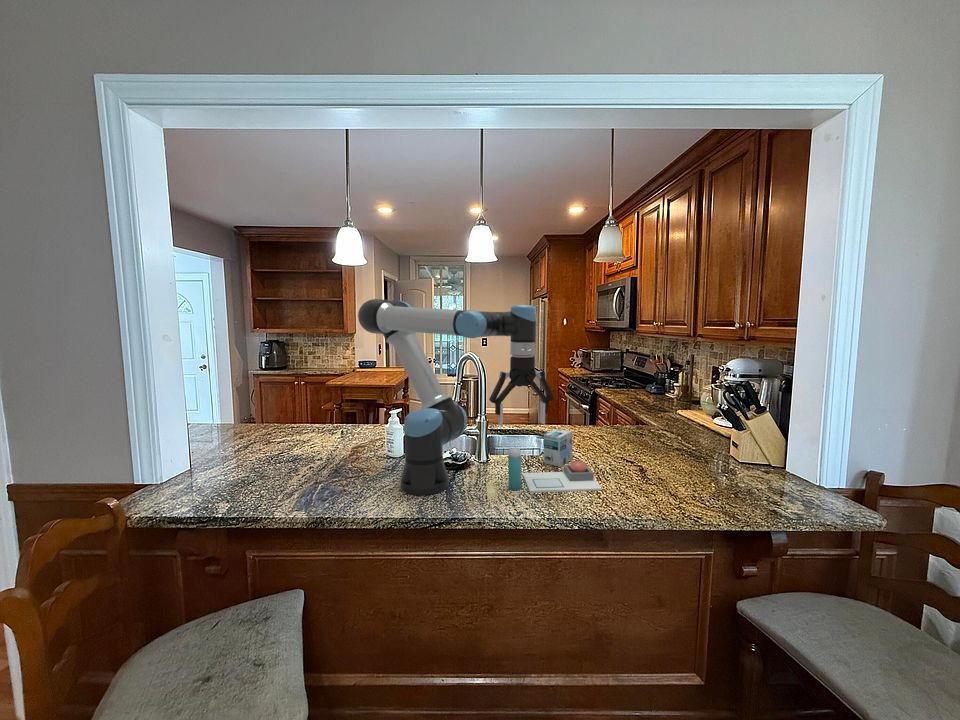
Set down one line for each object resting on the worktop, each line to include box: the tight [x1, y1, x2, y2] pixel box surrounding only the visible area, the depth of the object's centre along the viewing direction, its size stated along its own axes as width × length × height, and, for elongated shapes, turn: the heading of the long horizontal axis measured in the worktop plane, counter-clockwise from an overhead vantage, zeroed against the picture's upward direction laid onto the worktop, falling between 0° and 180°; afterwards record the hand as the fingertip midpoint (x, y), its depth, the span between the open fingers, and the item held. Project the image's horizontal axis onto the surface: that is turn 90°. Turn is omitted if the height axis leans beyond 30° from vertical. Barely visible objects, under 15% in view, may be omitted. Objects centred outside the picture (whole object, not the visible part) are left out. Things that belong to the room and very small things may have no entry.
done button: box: [569, 460, 587, 473], centre depth 129 cm, size 5×5×3 cm
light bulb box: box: [543, 428, 573, 468], centre depth 145 cm, size 11×7×11 cm, turn 143°
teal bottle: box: [507, 447, 522, 491], centre depth 122 cm, size 4×4×12 cm
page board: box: [522, 464, 603, 494], centre depth 126 cm, size 22×14×3 cm, turn 93°
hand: (521, 423), depth 123 cm, fingers open, 13 cm apart
